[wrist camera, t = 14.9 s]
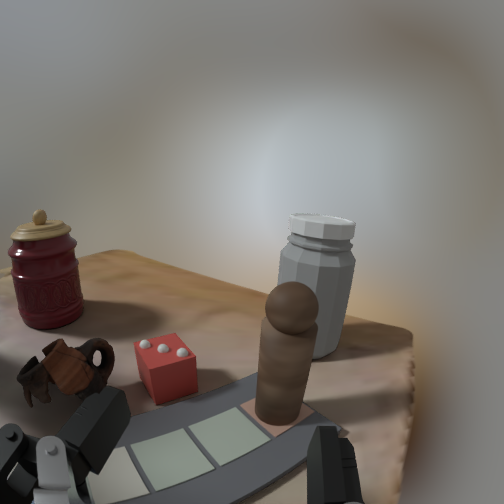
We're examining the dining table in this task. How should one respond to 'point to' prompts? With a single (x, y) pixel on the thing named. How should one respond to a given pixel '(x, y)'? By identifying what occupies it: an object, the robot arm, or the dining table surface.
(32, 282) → the canister
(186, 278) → the dining table surface
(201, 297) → the dining table surface
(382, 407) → the dining table surface
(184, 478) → the game board
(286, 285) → the walnut pawn
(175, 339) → the red die
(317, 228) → the jar
